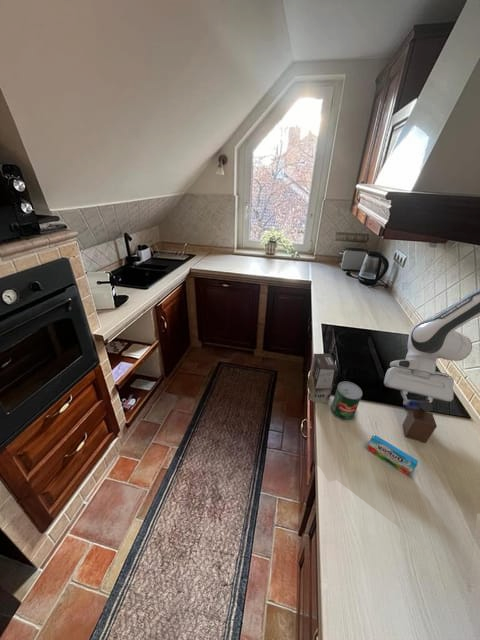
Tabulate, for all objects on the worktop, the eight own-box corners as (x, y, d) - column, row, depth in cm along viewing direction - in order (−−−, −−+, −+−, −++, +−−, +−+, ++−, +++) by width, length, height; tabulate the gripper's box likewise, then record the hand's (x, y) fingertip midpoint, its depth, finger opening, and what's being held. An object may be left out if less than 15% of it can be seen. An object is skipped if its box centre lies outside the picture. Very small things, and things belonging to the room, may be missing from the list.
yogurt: (365, 449, 78) (371, 437, 75) (367, 446, 79) (373, 433, 76) (409, 477, 72) (417, 464, 68) (410, 473, 73) (418, 460, 69)
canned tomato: (344, 400, 95) (351, 379, 89) (358, 417, 88) (367, 395, 83) (326, 405, 93) (332, 383, 87) (339, 423, 86) (347, 401, 81)
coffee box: (329, 402, 94) (338, 370, 85) (311, 402, 94) (319, 369, 85) (322, 384, 102) (331, 353, 93) (306, 384, 102) (313, 352, 93)
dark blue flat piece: (401, 402, 95) (414, 377, 88) (410, 405, 94) (424, 379, 87) (407, 431, 84) (423, 405, 78) (418, 434, 83) (435, 408, 77)
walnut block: (402, 424, 86) (411, 408, 82) (422, 430, 85) (432, 413, 80) (404, 437, 82) (414, 420, 78) (425, 443, 81) (437, 426, 76)
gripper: (449, 375, 89) (445, 415, 87) (385, 361, 95) (380, 398, 92) (459, 374, 83) (456, 417, 81) (391, 359, 89) (385, 399, 86)
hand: (415, 407), depth 86 cm, fingers open, 4 cm apart
